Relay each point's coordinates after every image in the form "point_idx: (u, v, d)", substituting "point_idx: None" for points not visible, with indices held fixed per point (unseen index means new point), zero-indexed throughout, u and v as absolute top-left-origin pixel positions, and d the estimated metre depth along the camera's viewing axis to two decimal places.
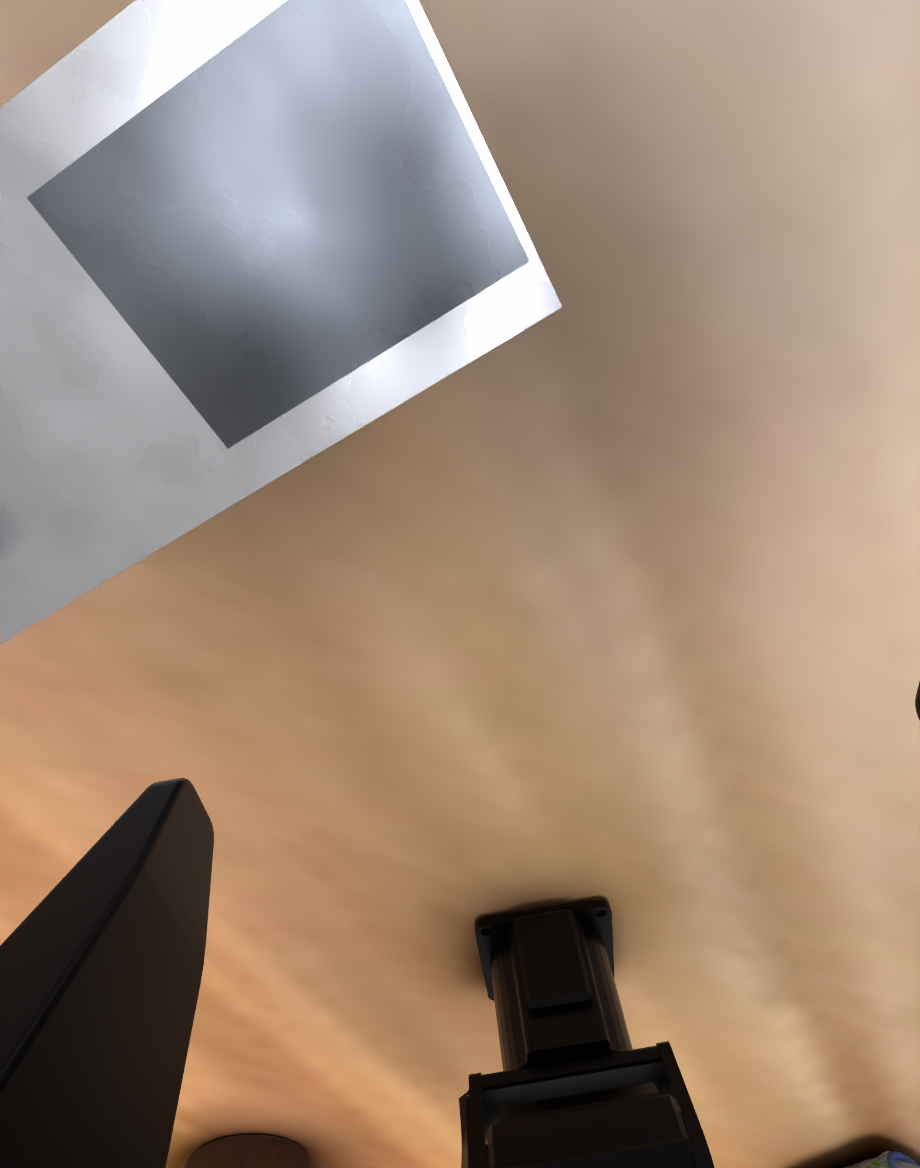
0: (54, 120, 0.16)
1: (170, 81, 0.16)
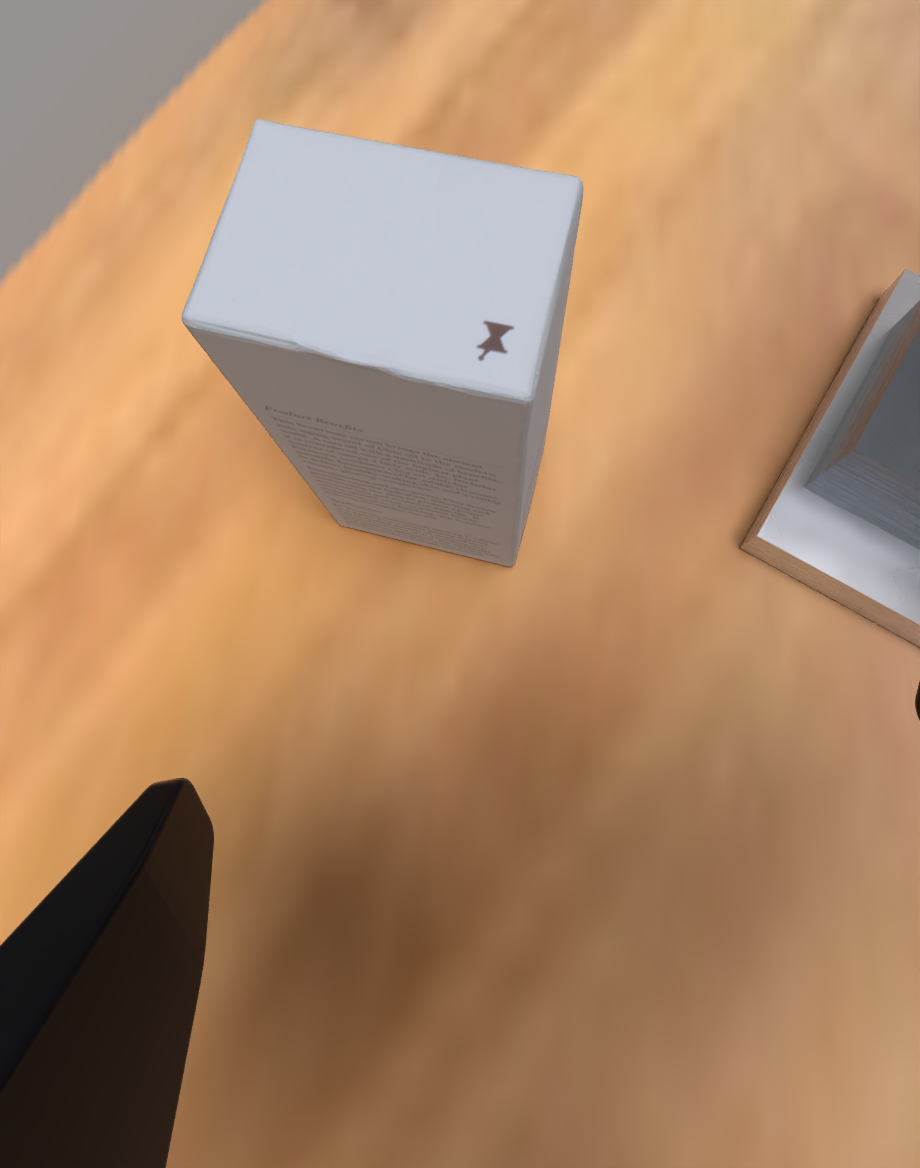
0: None
1: None
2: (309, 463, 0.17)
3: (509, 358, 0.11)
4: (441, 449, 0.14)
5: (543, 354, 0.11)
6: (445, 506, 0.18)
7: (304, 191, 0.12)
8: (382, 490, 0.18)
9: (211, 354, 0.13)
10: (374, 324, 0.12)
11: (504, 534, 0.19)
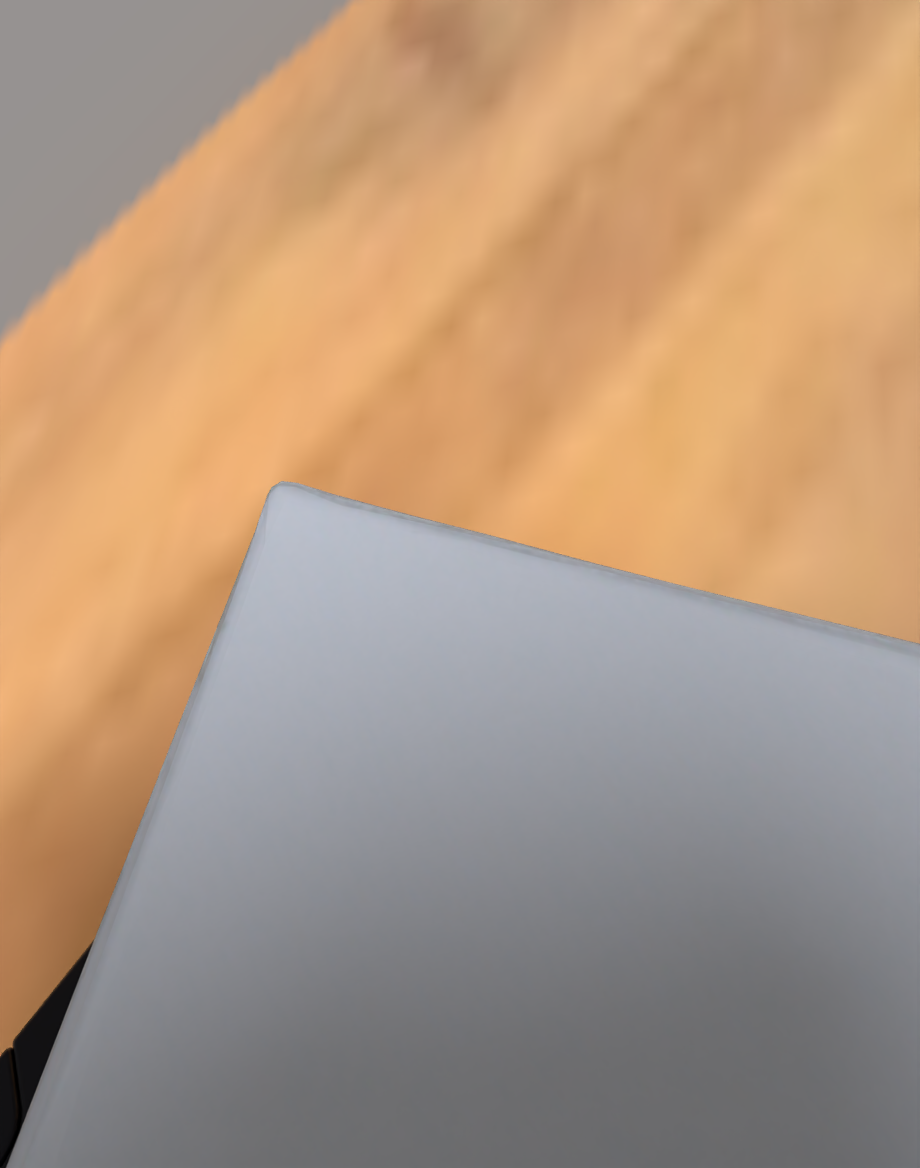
0: None
1: None
2: None
3: None
4: None
5: None
6: None
7: (425, 767, 0.04)
8: None
9: None
10: None
11: None
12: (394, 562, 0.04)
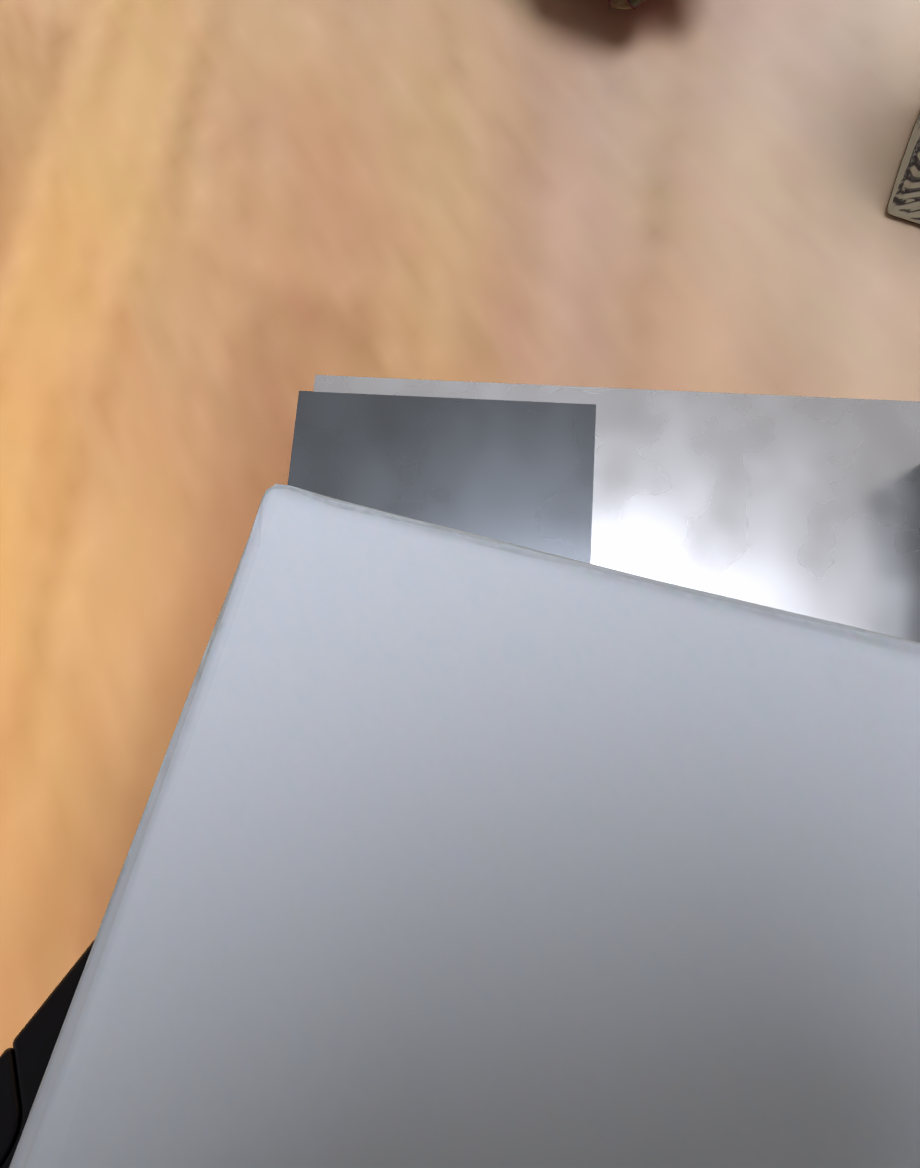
0: None
1: None
2: None
3: None
4: None
5: None
6: None
7: (418, 761, 0.04)
8: None
9: None
10: None
11: None
12: (386, 562, 0.04)
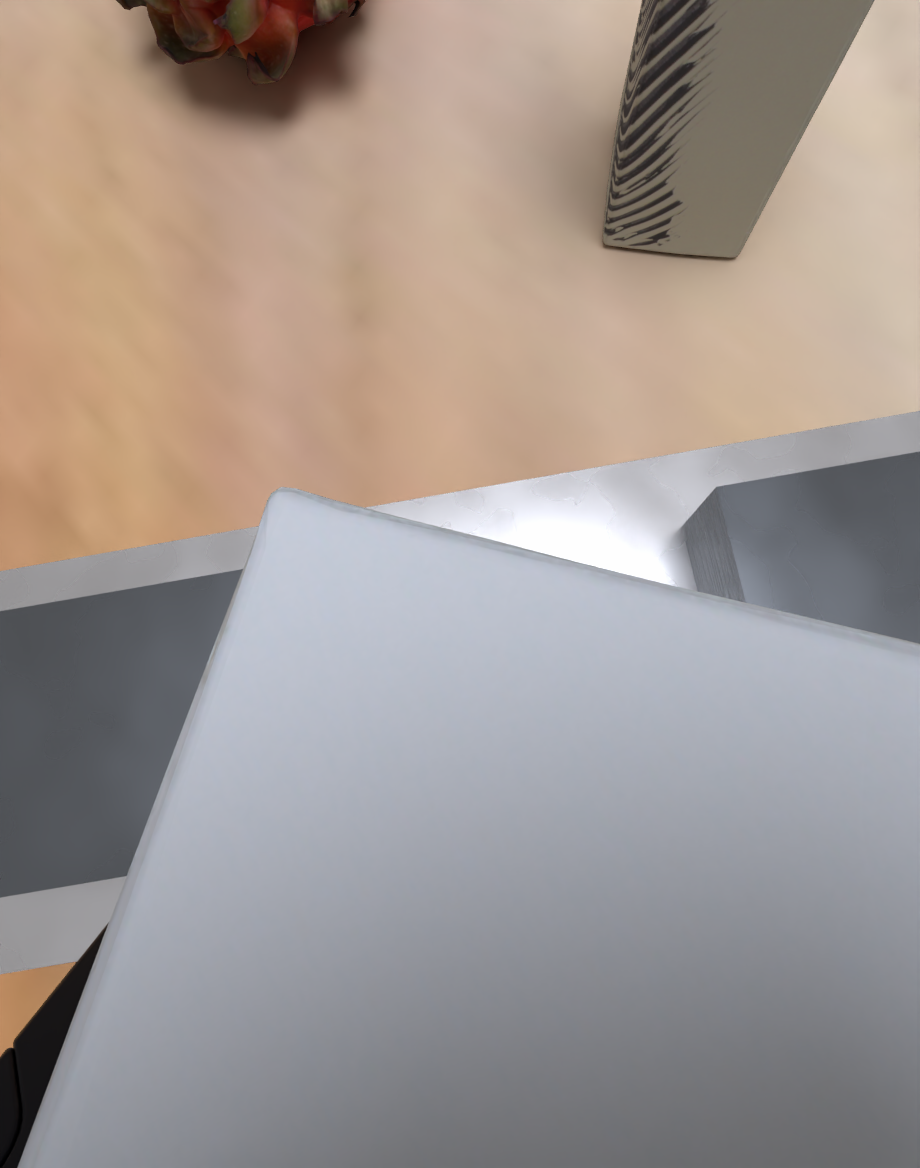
0: (687, 478, 0.19)
1: None
2: None
3: None
4: None
5: None
6: None
7: (424, 765, 0.04)
8: None
9: None
10: None
11: None
12: (392, 565, 0.04)
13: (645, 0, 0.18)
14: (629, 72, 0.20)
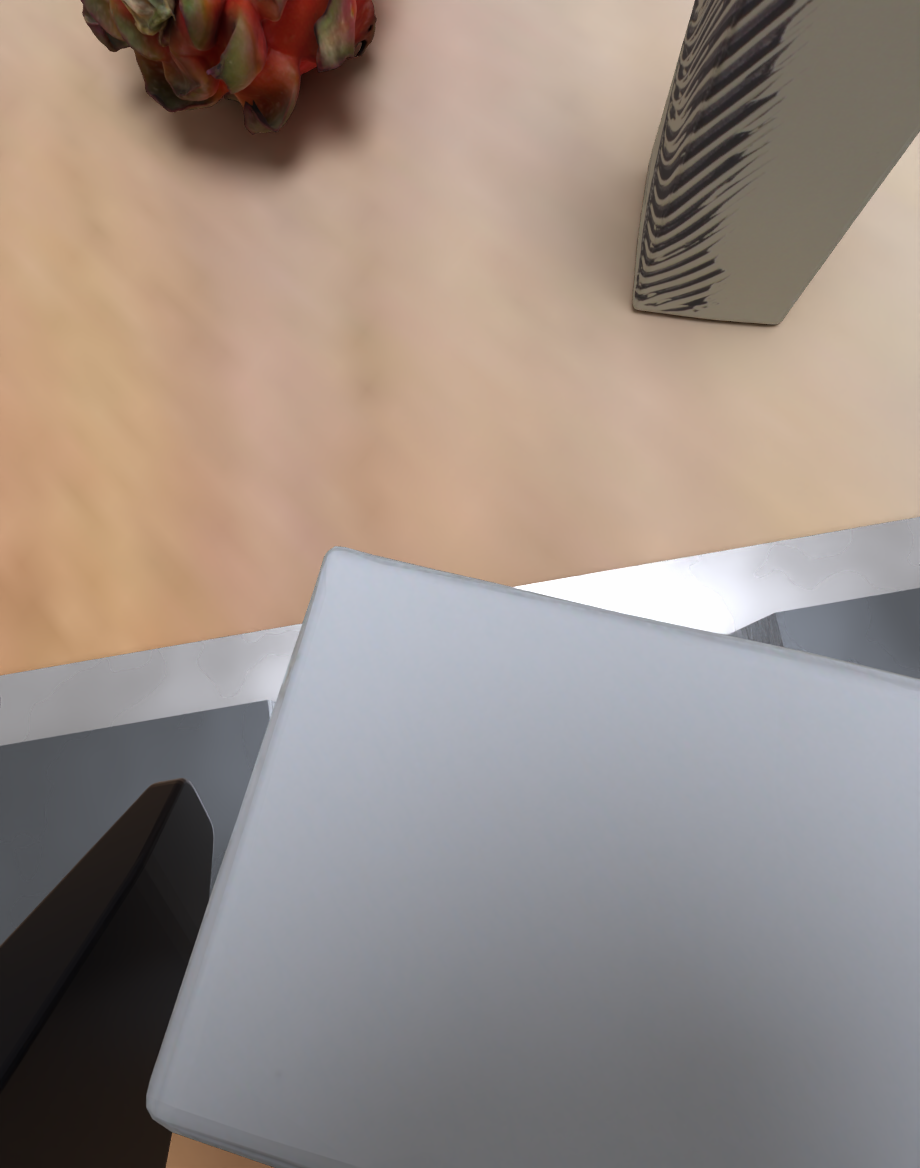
0: (731, 579, 0.17)
1: (848, 588, 0.17)
2: None
3: None
4: None
5: None
6: None
7: (451, 753, 0.05)
8: None
9: None
10: None
11: None
12: (421, 605, 0.05)
13: (689, 54, 0.16)
14: (666, 127, 0.18)
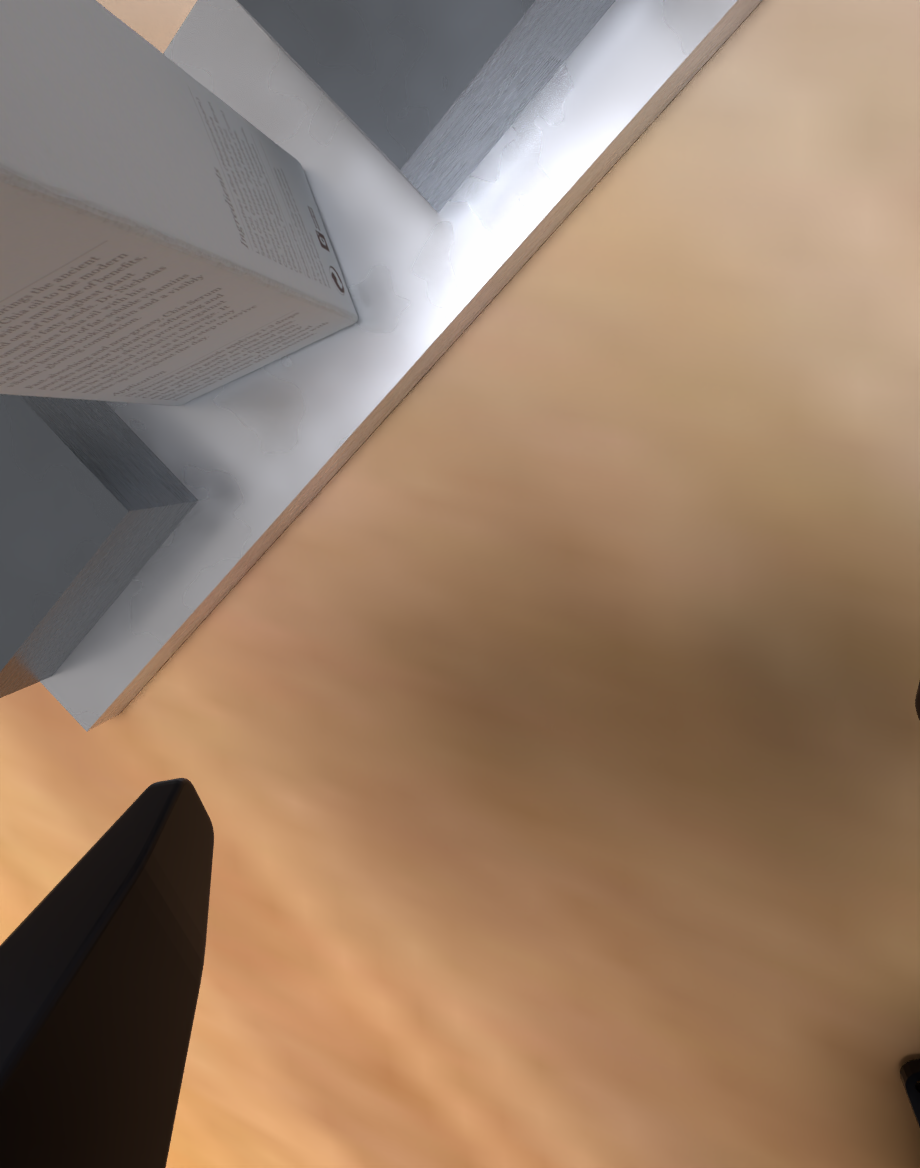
0: None
1: None
2: (17, 383, 0.14)
3: None
4: (28, 274, 0.10)
5: None
6: (184, 322, 0.14)
7: None
8: (112, 354, 0.14)
9: None
10: None
11: (278, 299, 0.15)
12: None
13: None
14: None
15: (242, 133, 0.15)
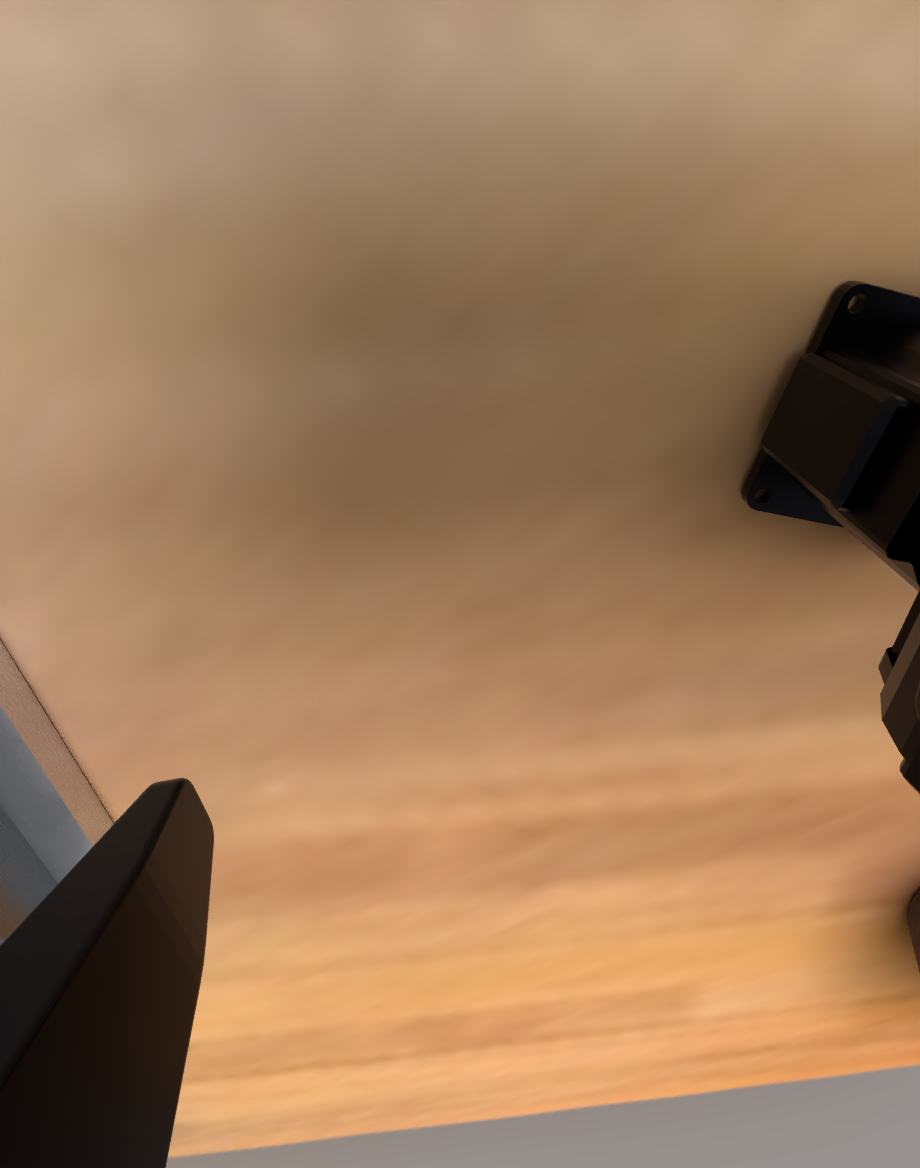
0: None
1: None
2: None
3: None
4: None
5: None
6: None
7: None
8: None
9: None
10: None
11: None
12: None
13: None
14: None
15: None
